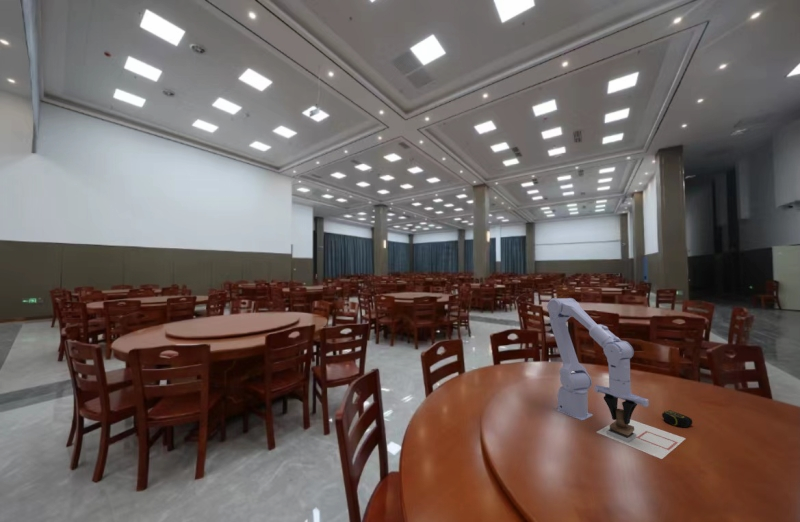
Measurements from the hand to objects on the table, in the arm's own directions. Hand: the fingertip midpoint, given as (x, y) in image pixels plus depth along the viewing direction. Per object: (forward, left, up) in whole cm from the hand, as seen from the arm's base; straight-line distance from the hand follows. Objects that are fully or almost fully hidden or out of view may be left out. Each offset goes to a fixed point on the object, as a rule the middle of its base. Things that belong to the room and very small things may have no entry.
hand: (620, 421), depth 95 cm
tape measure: (+6, +28, -5) cm, 29 cm away
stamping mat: (+3, +6, -5) cm, 8 cm away
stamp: (0, +1, -3) cm, 3 cm away
